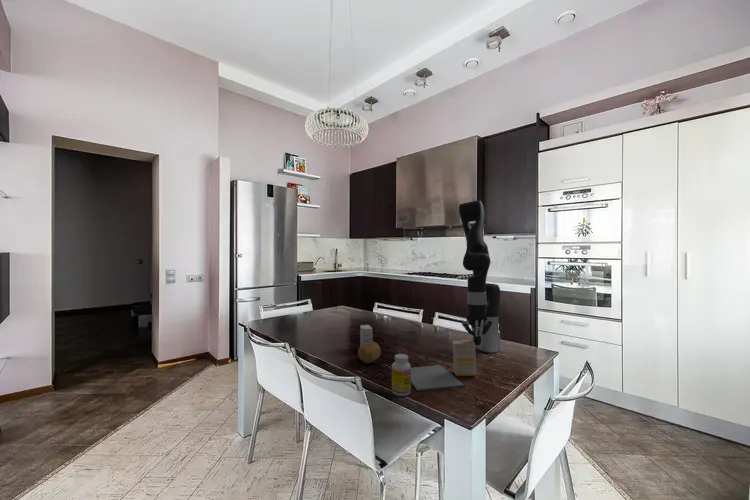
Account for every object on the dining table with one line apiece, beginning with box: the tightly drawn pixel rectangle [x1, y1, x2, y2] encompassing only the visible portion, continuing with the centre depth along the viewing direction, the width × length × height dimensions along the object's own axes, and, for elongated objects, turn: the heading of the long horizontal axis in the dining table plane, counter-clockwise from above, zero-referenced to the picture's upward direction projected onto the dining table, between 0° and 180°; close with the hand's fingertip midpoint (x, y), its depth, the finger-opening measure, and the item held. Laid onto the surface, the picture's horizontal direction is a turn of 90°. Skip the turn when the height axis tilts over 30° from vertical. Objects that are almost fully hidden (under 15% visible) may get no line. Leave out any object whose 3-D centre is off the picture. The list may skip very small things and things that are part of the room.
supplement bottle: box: [391, 353, 412, 397], centre depth 112 cm, size 7×7×13 cm
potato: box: [357, 341, 382, 364], centre depth 142 cm, size 10×14×8 cm
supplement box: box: [452, 339, 478, 377], centre depth 129 cm, size 8×5×13 cm, turn 85°
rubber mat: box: [411, 365, 465, 392], centre depth 125 cm, size 18×20×1 cm
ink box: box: [359, 324, 374, 348], centre depth 158 cm, size 9×5×12 cm, turn 13°
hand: (477, 344), depth 130 cm, fingers closed
